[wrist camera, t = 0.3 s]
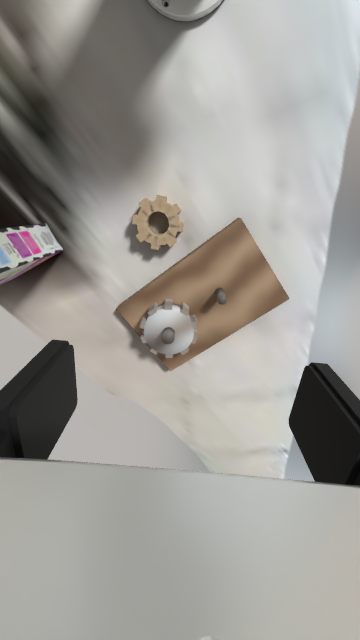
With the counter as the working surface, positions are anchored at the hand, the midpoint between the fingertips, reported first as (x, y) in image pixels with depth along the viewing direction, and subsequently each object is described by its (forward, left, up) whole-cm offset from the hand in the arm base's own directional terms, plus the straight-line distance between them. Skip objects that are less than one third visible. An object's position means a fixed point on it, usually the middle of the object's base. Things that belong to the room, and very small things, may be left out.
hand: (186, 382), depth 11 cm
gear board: (+8, -3, -35) cm, 36 cm away
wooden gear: (-6, -1, -35) cm, 35 cm away
